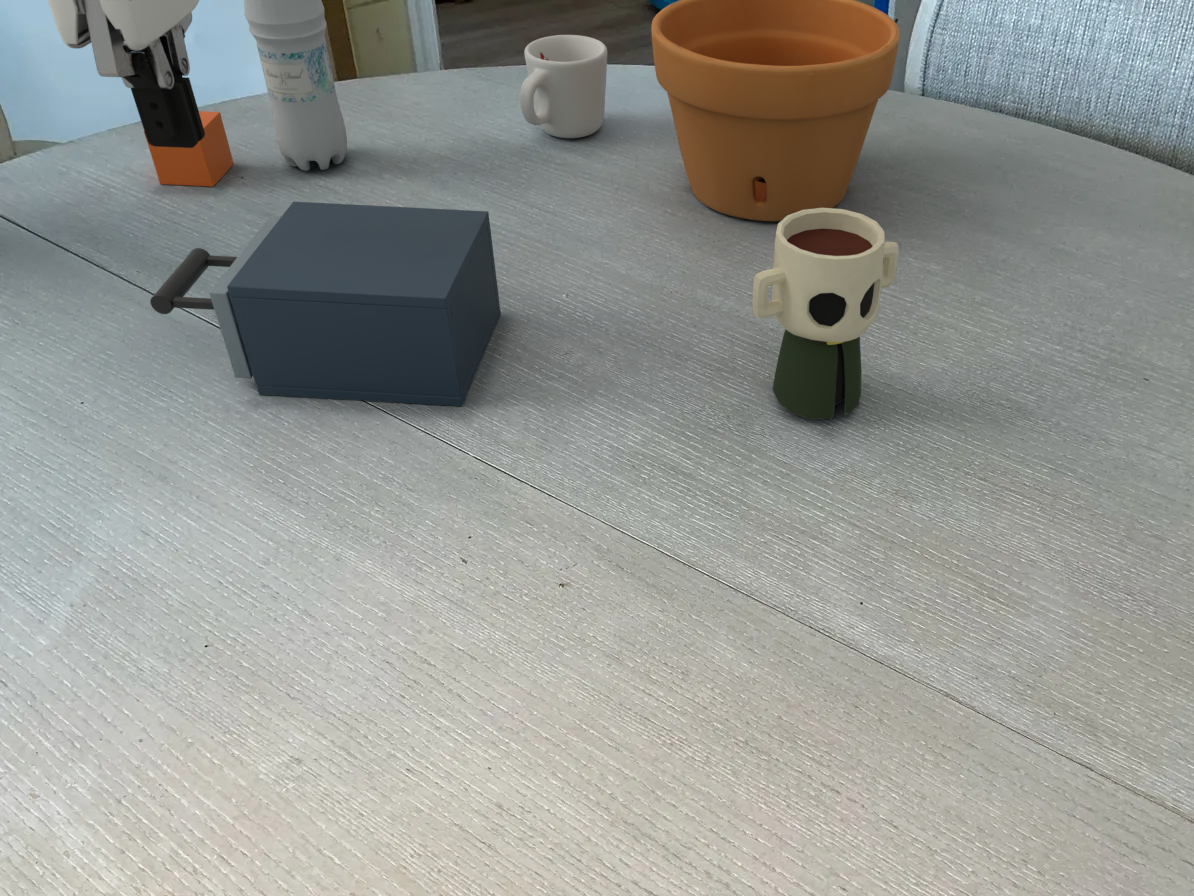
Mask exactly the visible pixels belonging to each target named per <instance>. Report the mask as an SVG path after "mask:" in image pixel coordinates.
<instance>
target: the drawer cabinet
mask: <svg viewBox="0 0 1194 896" xmlns="http://www.w3.org/2000/svg"><path fill="white" fill-rule="evenodd" d="M281 216H282V217H281V218H280V219H279V220H278V222H277V223H276V224H275V226H274V227H273V228H272V229H271V231H270V232H269V233H268V235H267V236H266V237H265V238H264V240H263V241H262V242H261V244H260V245H259V246H258V247H257V249H256V250H255V251H254V252H253V254H252V255H251V256H250V258H249V259H248V260H247V261H246V263H245V264H244V265H243V267H242V268H241V269H240V270H239V272H238V273H237V274H236V276H235V277H234V278H233V279H232V281H231V282H230V283H229V285H228V286H227V288H228V292H229V295H230V298H231V302H232V305H233V309H234V312H235V315H236V319H237V322H238V326H239V329H240V332H241V336H242V339H243V343H244V346H245V349H246V353H247V356H248V360H249V363H250V367H251V370H252V373H253V376H252V378H253V380H254V383H255V385H256V386H255V387H256V390H257V393H258V395H262V396H279V397H294V398H295V397H298V398H314V399H327V400H330V399H332V400H347V401H349V400H350V401H364V402H383V403H397V404H398V403H399V404H414V405H415V404H416V405H417V404H419V405H434V406H449V407H463V405H464V403H465V401H466V397H467V396H468V393H469V391H470V388H471V386H472V385H473V384H472V383H473V381H474V378H475V376H476V374H477V372H478V369H479V366H480V364H481V362H482V360H483V357H484V355H485V352H486V351H487V347H488V345H489V343H490V341H491V338H492V336H493V333H494V330H495V328H496V326H497V323H498V321H499V320H500V317H501V314H502V313H501V306H500V305H501V303H500V295H499V289H498V287H499V286H498V279H497V278H498V277H497V271H496V263H495V255H494V246H493V245H494V244H493V239H492V237H493V236H492V230H491V222H490V213H489V211H487V210H466V209H451V208H450V209H449V208H431V207H430V208H429V207H411V206H410V207H408V206H390V205H389V206H388V205H372V204H371V205H370V204H369V205H368V204H353V203H352V204H351V203H332V202H314V201H313V202H311V201H309V202H308V201H292V202H291V203H290V204H289V206H288V207H287V209H286V210H285V211H284V213H283V214H282V215H281Z"/></svg>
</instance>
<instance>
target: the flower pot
mask: <svg viewBox="0 0 1194 896" xmlns="http://www.w3.org/2000/svg"><path fill="white" fill-rule="evenodd" d="M650 27H651V28H650V29H651V31H650V32H651V44H652V53H653V62H654V72H655V77H656V81H657V82H658V84H659V86H661V88H662V89H663V90H664V91H665V92H666V93H667V97H668V101H669V105H670V106H669V107H670V110H671V115H672V119H673V122H674V128H675V133H676V137H677V142H678V147H679V151H680V155H681V158H682V159H681V160H682V163H683V166H684V170H685V173H686V177H687V181H688V184H689V187H690V188H689V189H690V190H691V193H692V194H693V195H694V197H695V198H696V199H697V200H698V201H699V202H700V203H702V204H703V205H704V206H706V207H707V208H709V209H711V210H713V211H715V212H718V213H721V214H723V215H727V216H729V217H734V218H738V219H744V220H751V221H756V222H781V221H782V220H783V219H784V218H785V217H786V216H787V215H790V214H793V213H796V212H799V211H801V210H806V209H816V208H833V209H834V208H835V207H836V206H837V205H838V204H840V203H841V202H842V200H843V199H844V197H845V195H846V193H847V191H848V188H849V186H850V183H851V180H852V178H853V174H854V173H855V169H856V167H857V164H858V162H859V158H860V156H861V152H862V150H863V147H864V143H865V141H866V137H867V135H868V132H869V128H870V125H871V122H872V120H873V116H874V113H875V111H876V108H877V104H878V101H879V99H881V98H883V96H885V94H886V93H888V90H889V89H890V88H891V85H892V80H893V77H894V76H893V75H894V71H895V67H896V61H897V56H898V49H899V44H900V39H901V38H900V37H901V31H900V27H899V26H898V24H897V23H896V22H895V20H894V19H893V18H891V16H890V15H889V14H887V13H885V12H883V11H882V10H880V9H878V8H876V7H874V6H871V5H869V4H867V3H864V2H862V1H859V0H677V1H674V2H672V3H670V4H668V5H667V6H665V7H664V8H662V9H661V10H660V11H659V12H658V13H656V14H655V16H654V17H653V19H652V22H651V26H650ZM761 180H764V181H765V182H763V181H761Z"/></svg>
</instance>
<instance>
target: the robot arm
mask: <svg viewBox="0 0 1194 896" xmlns="http://www.w3.org/2000/svg"><path fill="white" fill-rule="evenodd" d="M47 2H48V6H49V9H50V12H51V15H52V18H53V21H54V24H55V27H56V30H57V32H58V35H59V37H60V39H61V41H62V43H64V45H65V46H67V47H68V48H69V49H82V48H85V47H87V46H89V45H90V44H91V47H92V48H91V49H92V52H93V57H94V63H95V67H96V71H97V73H98V75H99V76H100V77H104V78H121V80H122V83H123V84H124V86H125V87H126V88H128V89H130V90H131V94H132V97H133V100H134V104H135V106H136V109H137V111H138V116H139V119H140V122H141V125H142V129H143V132H144V131H145V134H146V137H145V139H146V138H147V140H146V142H147V141H148V142H149V144H151V145H152V146H157V147H181V148H193V147H194V146H195V145H197V143H198V141H200V140H202V139H203V138H204V136H205V132H204V128H203V125H202V121H201V118H200V114H199V111H200V110H199V107H198V104H197V100H196V97H195V94H194V90H193V87H192V83H191V80H190V77H188V75H190V71H191V65H190V60H189V56H188V51H187V47H186V42H185V38H186V33H187V31H188V30H189V27H190V26H191V24H192V22H193V13H192V12H193V11H194V10H195V9H196V7H197V6H198V4H199V2H200V0H47ZM186 76H187V77H186ZM145 134H144V135H145Z"/></svg>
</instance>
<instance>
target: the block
mask: <svg viewBox="0 0 1194 896" xmlns="http://www.w3.org/2000/svg"><path fill="white" fill-rule="evenodd" d="M198 111H199V114H200V118H201V121H202V125H203V128H204V132H205V136H204V138H203V139H202V140H200V141H198V143H197V145H195V146H194V147H193V148H181V147H157V146H152V145H151V144H149V142H148V141H147V138H146V134H145V131H144V130H143V133H144V137H145V140H146V143H147V146H148V147H147V148H148V149H149V152H150V156H151V159H152V163H153V165H154V169H155V173H156V175H157V178H158V182H159V184H160V185H168V186H169V185H170V186H172V185H173V186H191V187H192V186H193V187H213V188H214V186H215V185H216V184H217V183H218V182H219V181H220V180H221V179H222V178H223V177H224V175H225V174H226V173H227V172H228V171H229V170H230V169H231V168H232V167H233V166H234V164H235V163H234V159H233V155H232V151H231V148H230V144H229V140H228V137H227V133H226V129H225V125H224V122H223V118H222V114H221V112H220V111H206V110H205V111H204V110H203V111H202V110H198Z"/></svg>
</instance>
